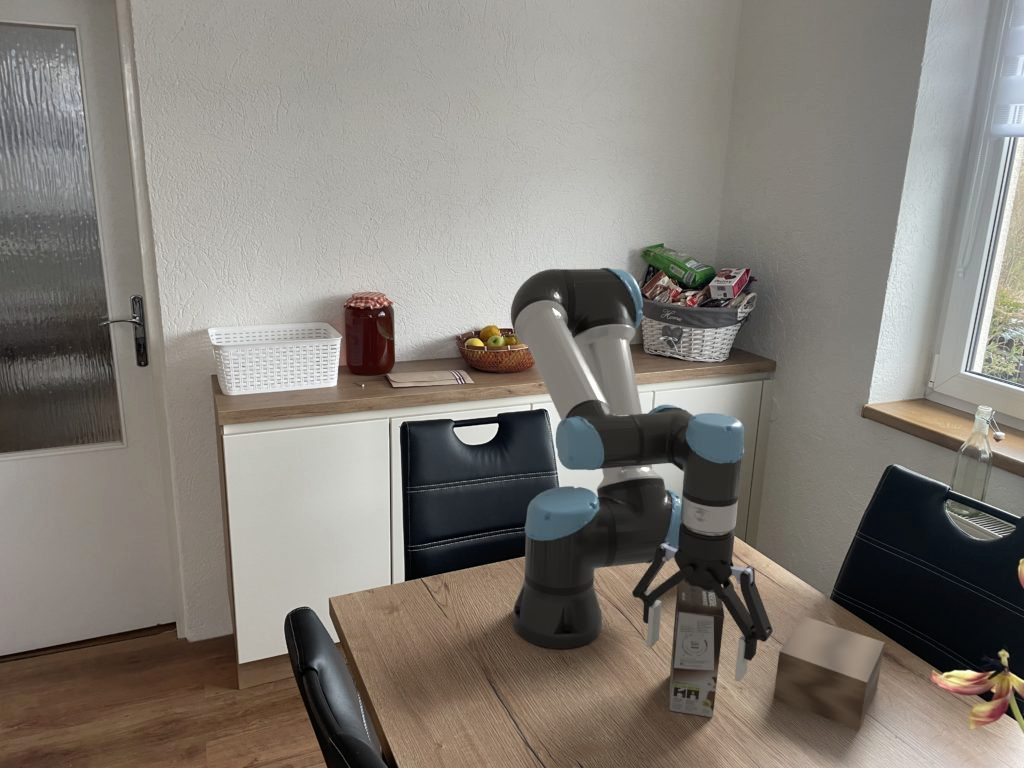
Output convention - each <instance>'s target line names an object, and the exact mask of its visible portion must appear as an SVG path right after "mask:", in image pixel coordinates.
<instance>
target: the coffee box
mask: <svg viewBox="0 0 1024 768" xmlns="http://www.w3.org/2000/svg"><path fill="white" fill-rule="evenodd" d="M676 588H677V589H676V598H675V599H676V600H675V611H674V622H673V636H672V644H671V645H672V647H671V659H670V673H669V711H670V712H677V713H683V714H689V715H696V716H702V717H707V718H708V717H709V718H712V717H713V716H714V708H715V700H716V691H717V684H718V683H717V682H718V674H719V666H720V665H719V664H720V656H721V650H722V649H721V648H722V639H723V629H724V621H725V612H724V603H723V602H722V600H721V599H719V598H718V597H717V596H716V594H715V592H714V591H713V590H710V591H707V590H704V589H702V588H701V587H697V586H691V585H689V583H688V582H682V581H681V582H680V583H678V584H677V585H676Z"/></svg>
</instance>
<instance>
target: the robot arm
mask: <svg viewBox="0 0 1024 768" xmlns="http://www.w3.org/2000/svg"><path fill="white" fill-rule="evenodd" d="M643 307H644V303H643V297H642V291H641V289H640V286H639V284H638V282H637V280H636V279H635V277H634V276H633V275H632V274H631V273H630V272H627V271H626V270H624V269H618V268H615V269H614V268H609V267H601V268H587V269H586V268H584V269H583V268H582V269H580V268H574V269H573V268H571V269H570V268H569V269H567V268H566V269H564V268H563V269H561V268H552V269H551V268H550V269H544V270H542V271H539V272H537V273H535V274H533V275H531V276H530V277H528V278H527V279H526V280H525V281H524V282H523V283H522V284H521V286H520V287H519V288H518V290H517V291H516V293H515V295H514V297H513V300H512V303H511V306H510V322H511V327H512V329H513V331H514V333H515V336H516V338H517V339H518V340H519V342H520V343H521V344H523V345H524V346H527V348H528V350H529V353H530V355H531V357H532V359H533V362H534V363H535V366H536V369H537V370H538V372H539V374H540V377H541V380H542V381H543V383H544V385H545V387H546V389H547V392H548V394H549V396H550V400H551V401H552V404H553V405H554V407H555V409H556V412H557V413H558V416H559V418H560V422H558V424H557V428H556V431H555V447H556V450H557V457H558V459H559V462H560V463H561V465H562V466H563V467H564V468H565V469H567V470H571V471H574V470H575V471H577V470H578V471H579V470H580V471H581V470H583V471H595V470H602V475H603V478H602V480H601V482H600V483H599V484H598V486H597V487H596V491H597V492H596V493H595V492H594V491H592V490H590V489H589V488H585V487H581V486H578V487H574V486H570V485H569V486H567V485H566V486H560V487H554V488H550V489H547V490H545V491H543V492H540V493H539V494H537V495H536V496H535V497H534V498H533V499H532V500H531V501H530V502H529V504H528V506H527V510H526V511H527V512H526V521H525V524H524V532H525V549H524V550H525V551H524V552H525V553H524V581H523V583H522V585H521V588H520V591H519V593H518V596H517V598H516V600H515V603H514V606H513V610H512V626H513V629H514V631H515V632H516V633H517V634H518V635H519V636H520V637H521V638H522V639H524V640H526V641H527V642H529V643H532V644H534V645H536V646H540V647H544V648H548V649H558V650H560V649H561V650H562V649H574V648H579V647H583V646H585V645H588V644H589V643H592V642H593V641H594V640H595V639H597V637H598V636H599V635H600V634H601V632H602V626H603V625H602V623H603V613H602V609H601V608H600V603H599V599H598V596H597V592H596V589H595V584H594V580H595V579H594V578H595V570H596V569H601V568H609V567H611V568H612V567H618V566H620V567H621V566H628V565H638V564H644V563H645V564H650V565H649V567H648V568H647V570H646V571H645V573H644V574H643V576H642V577H641V578H640V579H639V582H637V584H636V586H635V587H634V589H633V590H632V592H631V595H632V597H634V598H635V599H640V600H641V601H642V603H643V609H642V610H643V612H642V613H643V614H642V620H643V621H642V622H643V623H645V624H647V632H646V633H647V634H646V644H645V646H646V647H647V648H650V649H651V648H652V647H654V646H655V644H656V643H658V642H659V640H660V630H661V629H660V628H661V614H662V601H661V600H658V599H659V598H660V597H662V596H663V595H665V594H666V593H668V591H671V589H673V588H674V587H675V586H678V583H680V582H681V583H682V581H684V580H685V582H686V583H689V585H691V586H697V587H701V588H702V589H704V590H707V591H710V590H713V591H714V592H715V594H716V596H717V597H718V598H719V599H721V600H722V603H723V606H725V608H726V609H727V611H728V613H729V614H730V616H731V617H732V619H733V621H734V623H735V624H736V626H737V627H738V629H739V630H740V632H741V633H742V634H741V636H740V637H739V639H738V646H737V653H736V654H737V655H736V656H737V657H736V664H735V675H734V681H736V682H738V683H741V681H742V680H743V679H744V677H745V676H746V674H747V671H748V662H749V661H750V662H752V660H753V658H754V657H755V656H756V653H757V645H758V641H760V642H763V643H766V641H767V640H769V638H770V636H771V635H772V634H773V627H772V624H771V622H770V620H769V617H768V613H767V611H766V608H765V606H764V603H763V600H762V598H761V595H760V592H759V590H758V587H757V583H756V576H755V575H756V574H755V572H756V570H755V567H753V566H750V565H747V566H746V567H739V566H735V565H734V563H733V554H734V545H735V544H734V543H735V537H736V536H735V535H736V534H735V533H736V532H735V527H736V525H737V524H736V523H737V514H738V513H737V512H738V503H739V494H740V487H741V486H740V484H741V476H742V467H743V459H744V454H745V447H744V440H745V439H744V438H745V428H744V427H745V426H744V424H742V422H741V420H739V419H737V418H735V416H734V417H733V416H731V415H730V416H729V415H728V416H727V415H726V414H722V413H715V412H713V413H712V412H708V413H707V412H704V413H697V414H695V415H693V414H692V413H691V412H689V411H688V410H686V409H683V408H682V407H677V406H676V405H673V404H660V405H658V406H656V407H654V408H653V409H651V410H649V412H647V413H643V411H642V405H641V400H640V396H639V395H640V394H639V390H638V384H637V379H636V374H635V373H636V372H635V368H634V364H633V358H632V352H631V348H630V347H631V346H630V342H631V341H632V340H633V339H634V337H635V336H636V330H637V328H639V326H640V324H641V322H642V319H643V313H644V312H643V311H642V308H643ZM663 464H664V465H665V464H672V465H673V466H675V467H676V468H678V469H679V470H681V471H682V472H683V479H682V480H683V481H682V491H681V492H682V495H681V499H680V498H679V497H680V496H679V495H678V493H677V492H675V491H672V490H671V489H667V488H666V485H665V480H664V477H662V476H661V475H660V474H658V473H656V472H655V470H654V469H653V465H663ZM596 494H597V495H596ZM672 558H673V560H674V561H675V563H676V565H677V567H678V571H676V572H675V573H674V574H672V575H671V576H669V577H668V578H667V579H665V581H663V582H662V583H661V584H659V585H658V586H656V587H655V588H654V589H652V590H649V589H648V588H649V587H650V586H651V584H652V583H653V581H654V580H655V579H656V577H657V575H658V574H659V573H660V571H661V569H662V568H663V567H664V565H665V564H666V562H670V560H672ZM731 576H733V578H735V579H736V584H737V585H740V591H741V595H742V596H743V597H742V598H743V600H744V602H745V604H744V602H743V601H742V599H741V597H740V596H739V595H738V593H737V592H736V590H735V586H734V584H733V582H732V581H731Z"/></svg>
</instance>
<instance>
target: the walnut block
mask: <svg viewBox="0 0 1024 768" xmlns="http://www.w3.org/2000/svg"><path fill="white" fill-rule="evenodd" d="M885 644H886V643H885V641H881V640H880V639H879V640H878V639H875V638H872V637H869V636H866V635H863V634H860V633H857V632H855V631H851V630H848V629H845V628H841V627H839V626H835V625H833V624H829V623H826V622H823V621H821V620H817V619H814V618H811V617H808V616H805V615H802V616H801V618H800V620H799V621H798V623H797V624H796V625H795V627H794V629H793V630H792V631H791V633H790V635H789V636H788V638H787V639H786V641H785V642H784V644H783V645H782V647H781V648H780V650H779V652H778V659H777V660H778V661H777V666H776V667H777V668H776V675H775V683H774V692H773V698H774V699H777V700H780V701H782V702H785V703H787V704H788V705H789V704H790V705H792V706H794V707H797V708H800V709H802V710H805V711H808V712H810V713H812V714H815V715H818V716H820V717H823V718H825V719H828V720H830V721H833V722H836V723H838V724H841V725H843V726H846V727H849V728H851V729H854V730H856V731H860V730H861V727H862V725H863V723H864V720H865V718H866V715H867V713H868V711H869V708H870V706H871V703H872V701H873V699H874V696H875V694H876V692H877V689H878V685H879V679H880V673H881V669H882V667H881V666H882V662H883V656H884V649H885Z"/></svg>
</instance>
